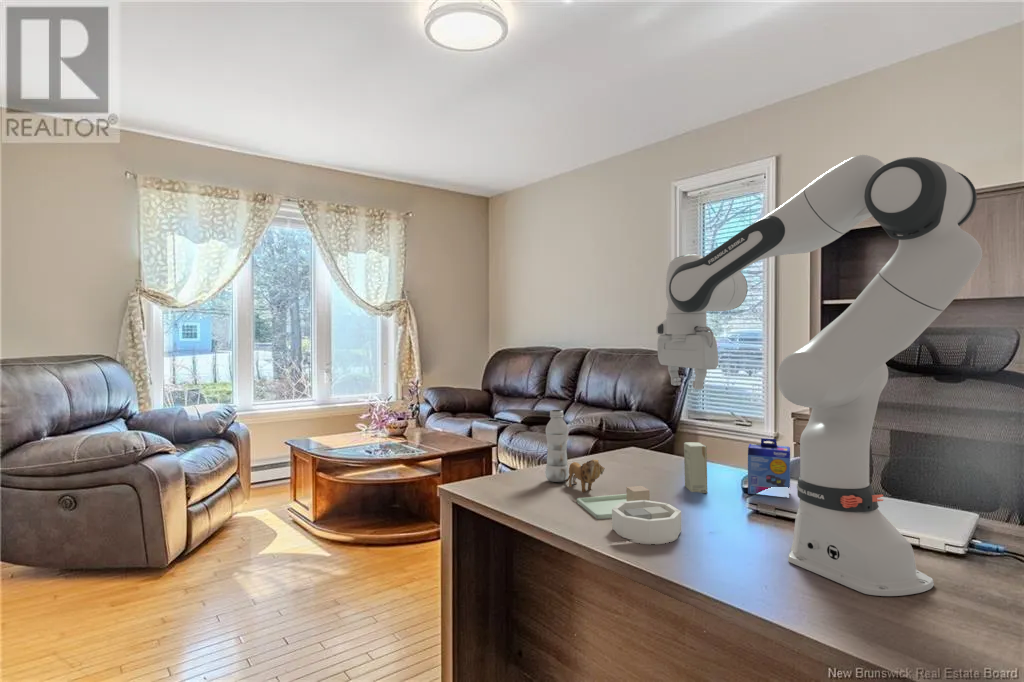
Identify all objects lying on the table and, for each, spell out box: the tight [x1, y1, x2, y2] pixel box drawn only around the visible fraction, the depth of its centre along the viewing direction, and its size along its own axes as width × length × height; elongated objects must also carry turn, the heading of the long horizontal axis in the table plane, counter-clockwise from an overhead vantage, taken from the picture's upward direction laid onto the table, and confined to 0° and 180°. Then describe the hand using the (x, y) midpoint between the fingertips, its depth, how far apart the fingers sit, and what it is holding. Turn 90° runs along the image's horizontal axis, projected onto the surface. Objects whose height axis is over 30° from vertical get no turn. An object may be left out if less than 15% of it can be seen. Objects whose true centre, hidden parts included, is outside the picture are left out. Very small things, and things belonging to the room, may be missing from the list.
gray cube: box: [624, 508, 651, 519], centre depth 117 cm, size 4×4×4 cm
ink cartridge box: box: [747, 437, 791, 495], centre depth 145 cm, size 10×6×14 cm, turn 64°
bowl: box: [611, 500, 682, 545], centre depth 118 cm, size 13×13×5 cm
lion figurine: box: [563, 459, 605, 493], centre depth 151 cm, size 15×5×9 cm, turn 34°
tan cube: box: [625, 485, 651, 501], centre depth 135 cm, size 4×4×4 cm
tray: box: [576, 493, 627, 520], centre depth 134 cm, size 13×16×1 cm
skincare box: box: [683, 441, 708, 494], centre depth 149 cm, size 6×4×12 cm
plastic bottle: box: [544, 409, 570, 483], centre depth 159 cm, size 6×7×20 cm
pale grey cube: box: [642, 506, 669, 519], centre depth 118 cm, size 4×4×4 cm
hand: (686, 387), depth 130 cm, fingers open, 8 cm apart
